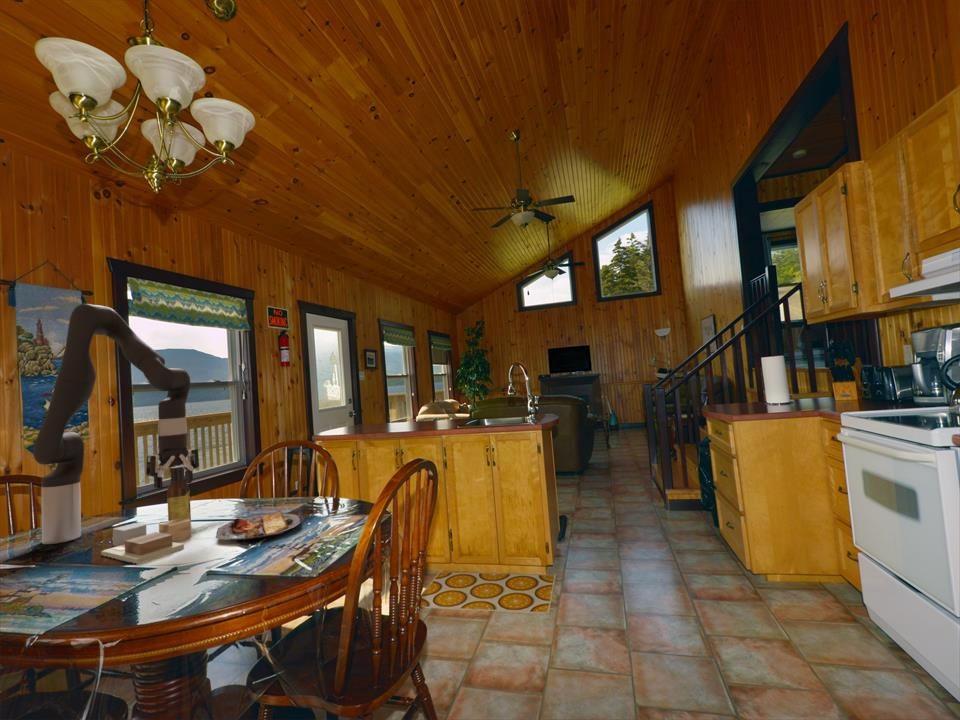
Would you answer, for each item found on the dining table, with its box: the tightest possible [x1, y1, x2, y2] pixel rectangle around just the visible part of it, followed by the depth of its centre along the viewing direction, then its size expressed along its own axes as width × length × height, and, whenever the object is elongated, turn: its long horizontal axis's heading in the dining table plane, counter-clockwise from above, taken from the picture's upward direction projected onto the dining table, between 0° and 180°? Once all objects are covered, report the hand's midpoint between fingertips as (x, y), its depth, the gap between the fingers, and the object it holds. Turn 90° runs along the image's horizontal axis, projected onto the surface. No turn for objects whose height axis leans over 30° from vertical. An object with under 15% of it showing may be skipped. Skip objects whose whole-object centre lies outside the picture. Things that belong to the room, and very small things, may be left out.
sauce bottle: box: [166, 466, 192, 521], centre depth 155 cm, size 7×6×20 cm
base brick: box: [125, 531, 172, 555], centre depth 131 cm, size 8×8×3 cm
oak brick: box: [158, 518, 192, 542], centre depth 144 cm, size 6×6×5 cm
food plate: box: [215, 509, 301, 541], centre depth 147 cm, size 25×23×4 cm
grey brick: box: [112, 522, 147, 547], centre depth 141 cm, size 6×6×5 cm
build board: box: [100, 541, 185, 565], centre depth 132 cm, size 18×12×1 cm, turn 62°
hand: (174, 486), depth 145 cm, fingers open, 8 cm apart
